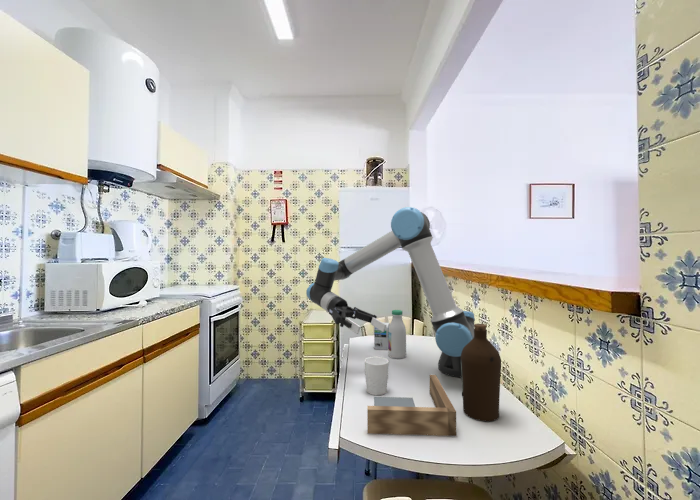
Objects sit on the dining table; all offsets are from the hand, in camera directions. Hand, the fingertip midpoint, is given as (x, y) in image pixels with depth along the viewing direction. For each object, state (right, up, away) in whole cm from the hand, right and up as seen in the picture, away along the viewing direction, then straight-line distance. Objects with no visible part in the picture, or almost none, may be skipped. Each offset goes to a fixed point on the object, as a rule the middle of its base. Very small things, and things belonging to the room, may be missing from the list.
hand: (372, 329), depth 111 cm
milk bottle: (+13, -19, +30) cm, 38 cm away
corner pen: (+8, -19, -19) cm, 28 cm away
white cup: (+1, -19, -5) cm, 20 cm away
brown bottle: (+29, -19, -20) cm, 40 cm away
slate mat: (+5, -19, -17) cm, 26 cm away
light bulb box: (+8, -20, +44) cm, 49 cm away
